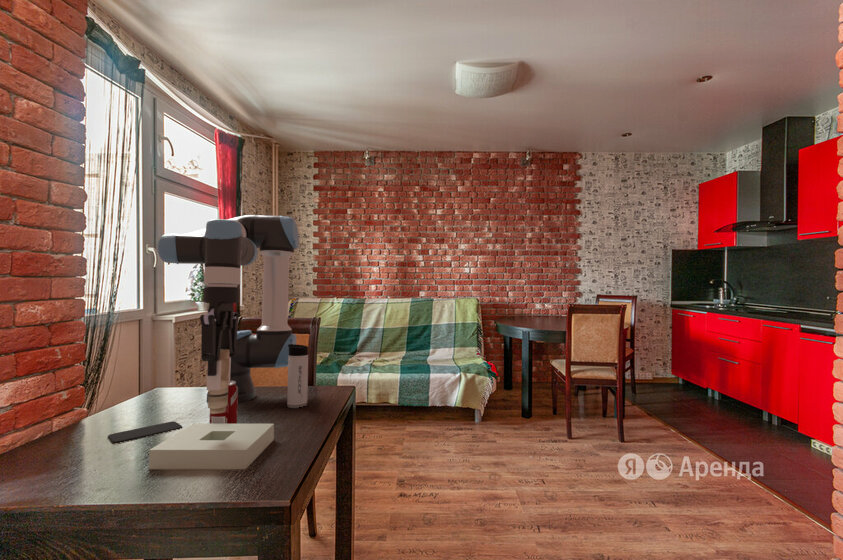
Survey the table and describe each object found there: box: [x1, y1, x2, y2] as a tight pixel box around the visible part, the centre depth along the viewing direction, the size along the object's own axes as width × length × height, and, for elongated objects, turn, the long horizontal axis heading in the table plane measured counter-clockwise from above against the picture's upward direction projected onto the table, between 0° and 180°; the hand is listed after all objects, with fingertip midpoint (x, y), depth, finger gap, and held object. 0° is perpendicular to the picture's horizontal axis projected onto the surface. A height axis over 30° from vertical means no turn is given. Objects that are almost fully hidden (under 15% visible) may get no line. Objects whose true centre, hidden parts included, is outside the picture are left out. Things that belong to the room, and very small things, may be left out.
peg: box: [207, 349, 229, 414], centre depth 87 cm, size 4×4×14 cm
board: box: [148, 423, 275, 470], centre depth 87 cm, size 16×20×4 cm
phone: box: [107, 420, 183, 444], centre depth 99 cm, size 7×1×15 cm
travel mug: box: [286, 344, 309, 409], centre depth 124 cm, size 6×7×20 cm
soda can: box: [208, 381, 239, 424], centre depth 104 cm, size 7×7×12 cm
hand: (218, 387), depth 87 cm, fingers closed on peg, 4 cm apart
